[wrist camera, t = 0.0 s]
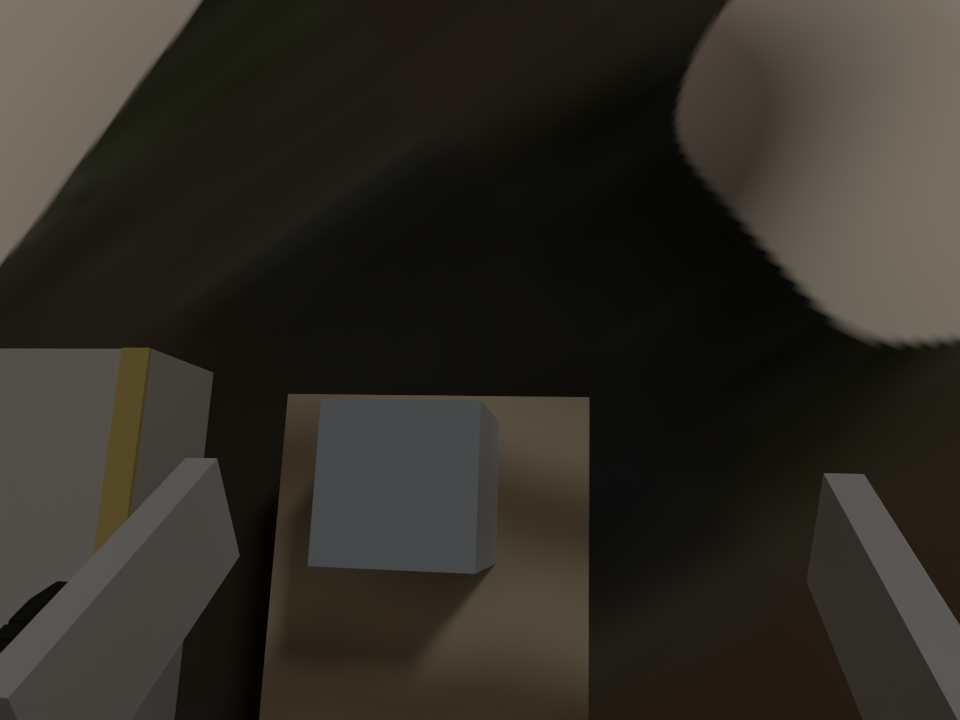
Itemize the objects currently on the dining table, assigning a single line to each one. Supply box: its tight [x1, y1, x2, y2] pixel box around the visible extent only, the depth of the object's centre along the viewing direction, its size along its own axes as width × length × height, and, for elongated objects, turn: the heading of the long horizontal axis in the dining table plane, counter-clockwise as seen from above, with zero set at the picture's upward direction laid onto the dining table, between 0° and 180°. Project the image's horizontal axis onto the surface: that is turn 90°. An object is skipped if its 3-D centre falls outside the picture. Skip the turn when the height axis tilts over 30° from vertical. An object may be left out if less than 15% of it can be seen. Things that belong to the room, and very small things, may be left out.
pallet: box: [259, 394, 589, 720], centre depth 27 cm, size 22×11×6 cm, turn 178°
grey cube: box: [308, 399, 500, 574], centre depth 23 cm, size 5×5×5 cm
